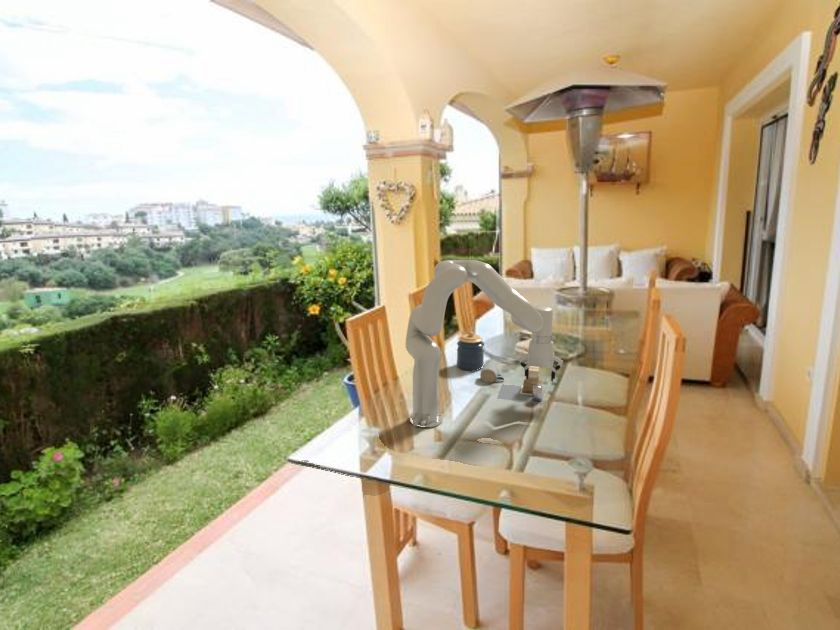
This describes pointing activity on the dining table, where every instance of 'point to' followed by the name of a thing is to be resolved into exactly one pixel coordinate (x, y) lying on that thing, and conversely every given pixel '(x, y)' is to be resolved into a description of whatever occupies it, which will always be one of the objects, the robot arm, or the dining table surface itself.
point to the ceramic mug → (490, 373)
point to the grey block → (537, 393)
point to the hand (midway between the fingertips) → (539, 379)
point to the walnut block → (529, 386)
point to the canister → (470, 352)
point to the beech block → (533, 375)
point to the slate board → (515, 394)
